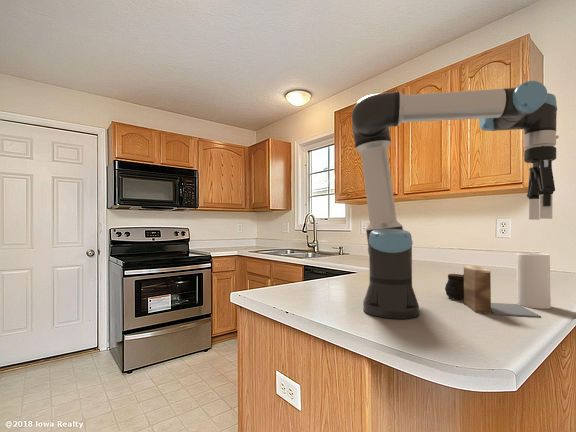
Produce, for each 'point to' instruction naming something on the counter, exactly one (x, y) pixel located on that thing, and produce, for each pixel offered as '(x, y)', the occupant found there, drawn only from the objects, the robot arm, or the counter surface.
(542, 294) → the cup
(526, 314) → the mat
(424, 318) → the counter surface
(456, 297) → the mate gourd
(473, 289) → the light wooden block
